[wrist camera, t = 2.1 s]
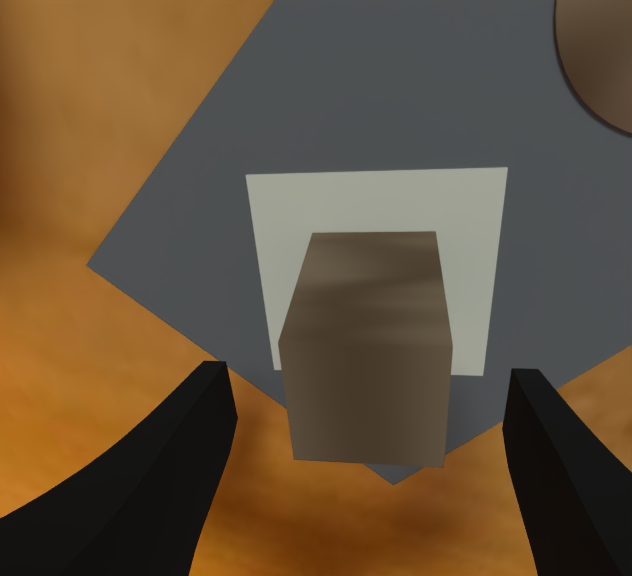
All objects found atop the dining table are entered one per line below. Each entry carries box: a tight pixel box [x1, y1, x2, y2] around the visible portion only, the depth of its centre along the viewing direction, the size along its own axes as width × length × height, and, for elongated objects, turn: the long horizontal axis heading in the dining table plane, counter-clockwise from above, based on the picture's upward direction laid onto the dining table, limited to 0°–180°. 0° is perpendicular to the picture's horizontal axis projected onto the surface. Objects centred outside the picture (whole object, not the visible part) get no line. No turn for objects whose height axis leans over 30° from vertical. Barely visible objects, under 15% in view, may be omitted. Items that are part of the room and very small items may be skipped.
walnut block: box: [278, 231, 453, 468], centre depth 16 cm, size 4×4×6 cm
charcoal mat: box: [86, 0, 632, 485], centre depth 16 cm, size 16×24×1 cm, turn 139°
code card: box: [246, 167, 508, 376], centre depth 18 cm, size 8×8×1 cm
